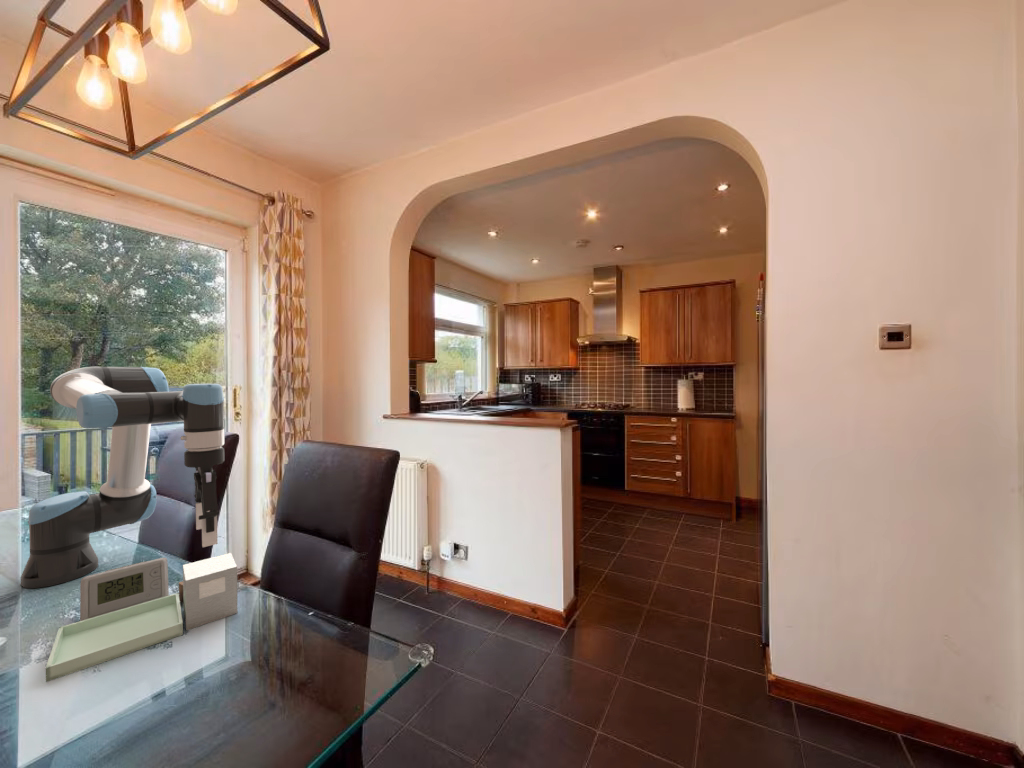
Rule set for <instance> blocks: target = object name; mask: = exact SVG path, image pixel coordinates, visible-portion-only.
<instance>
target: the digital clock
mask: <svg viewBox="0 0 1024 768" xmlns="http://www.w3.org/2000/svg"><path fill="white" fill-rule="evenodd" d="M168 565H169V564H168V558H167V557H159V558H156V559H151V560H148V561H147V560H145V561H141V562H136V563H132V564H127V565H123V566H120V567H115V568H112V569H108V570H105V571H103V572H99V573H94V574H90V575H85V576H84V577H81V579H80V592H79V594H80V600H79V601H80V602H79V603H80V606H79V608H80V610H79V620H80V621H83V620H86V619H89V618H93V617H96V616H100V615H103V614H107V613H110V612H114V611H117V610H121V609H124V608H128V607H131V606H134V605H138V604H141V603H145V602H148V601H152V600H155V599H159V598H162V597H166V596H169V595H170V593H169V592H170V591H169V589H170V588H169V587H170V586H169V568H168V567H169V566H168Z"/></svg>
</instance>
